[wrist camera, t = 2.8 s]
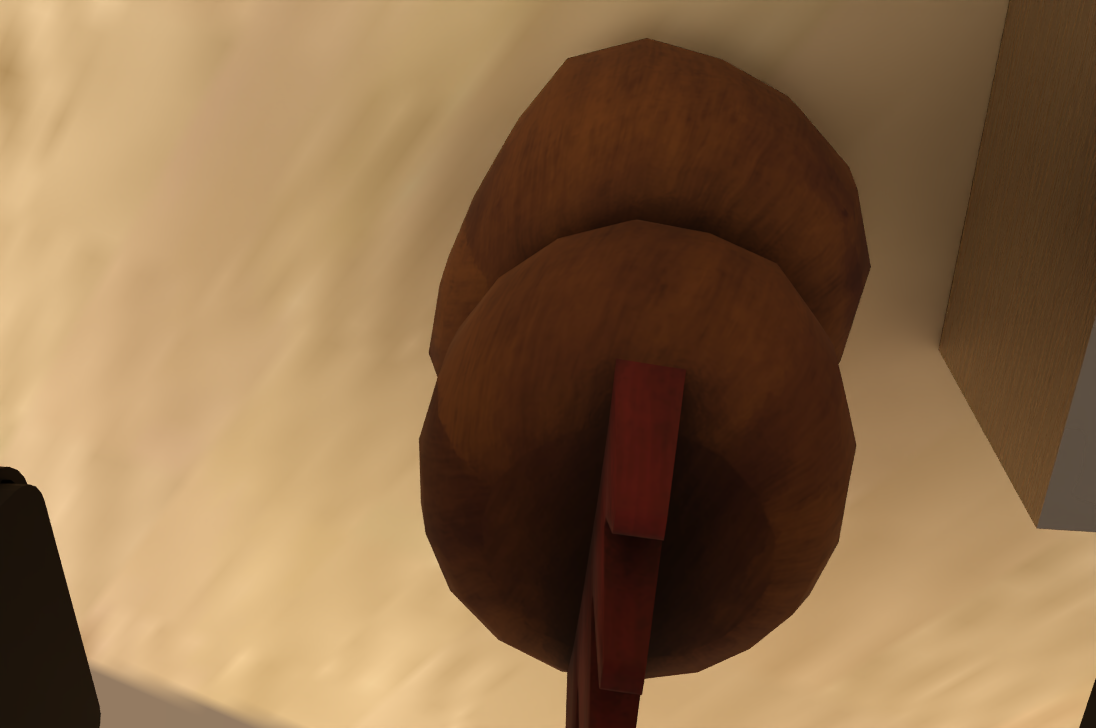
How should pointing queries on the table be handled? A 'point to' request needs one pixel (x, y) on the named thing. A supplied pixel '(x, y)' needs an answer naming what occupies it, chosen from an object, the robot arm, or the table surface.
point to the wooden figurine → (644, 373)
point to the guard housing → (1034, 265)
